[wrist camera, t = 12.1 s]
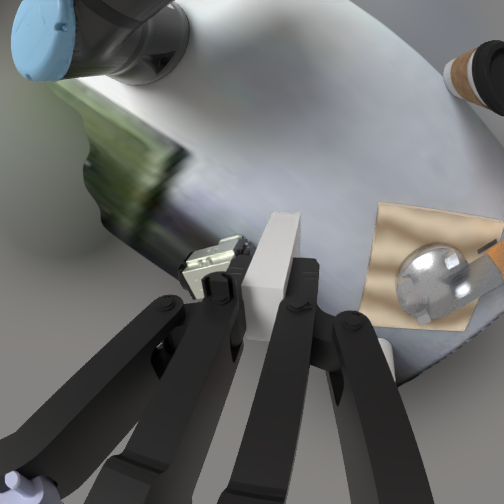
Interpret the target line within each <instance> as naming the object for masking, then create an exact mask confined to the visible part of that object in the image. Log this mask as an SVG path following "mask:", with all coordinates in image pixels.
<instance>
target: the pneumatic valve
mask: <svg viewBox="0 0 504 504" xmlns="http://www.w3.org/2000/svg"><path fill="white" fill-rule="evenodd" d="M256 249H257V248H256V247H255V246H249V243H248V241H247V239H242V235H240V234H237V235H234V236H230V237H226V238H223V239H221V240H220V242H219V245H216V246H213V247H209V248H205V249H201V250H198V251H194V252H191V253H190V254H189V255H188V256H187V258H186V259H185V260H184V261H183V264H181V265H180V267H179V271H178V277H179V281H180V284H181V285H182V287H183V288H184V289H185V290H187V291H189V293H190V295H191V296H192V298H193V300H195V299H200V298H204V293H203V287H202V282H201V279H202V278H203V277H204V276H205V275H207V274H209V273H212V272H216V271H225V272H226V270H227V268H228V266H229V264H230V262H231V261H232V260H233V259H234V258H235V257H237V256H238V255H253V256H254V254H255V251H256Z"/></svg>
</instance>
